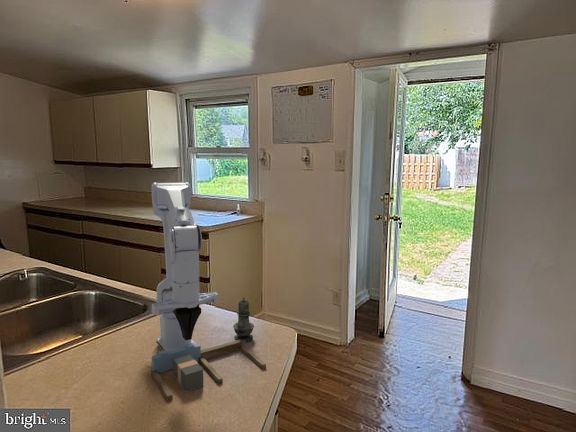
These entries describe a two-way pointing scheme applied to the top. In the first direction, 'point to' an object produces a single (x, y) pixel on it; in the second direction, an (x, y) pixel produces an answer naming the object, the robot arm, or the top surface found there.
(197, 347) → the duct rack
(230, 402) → the top surface
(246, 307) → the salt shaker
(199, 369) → the grey and tan block
